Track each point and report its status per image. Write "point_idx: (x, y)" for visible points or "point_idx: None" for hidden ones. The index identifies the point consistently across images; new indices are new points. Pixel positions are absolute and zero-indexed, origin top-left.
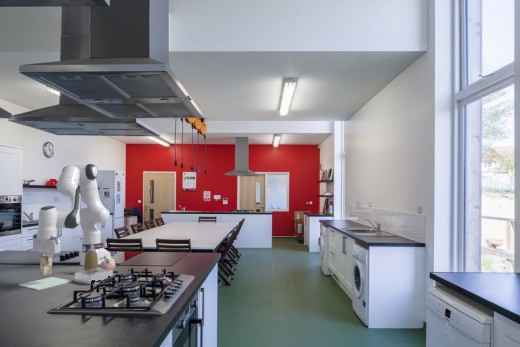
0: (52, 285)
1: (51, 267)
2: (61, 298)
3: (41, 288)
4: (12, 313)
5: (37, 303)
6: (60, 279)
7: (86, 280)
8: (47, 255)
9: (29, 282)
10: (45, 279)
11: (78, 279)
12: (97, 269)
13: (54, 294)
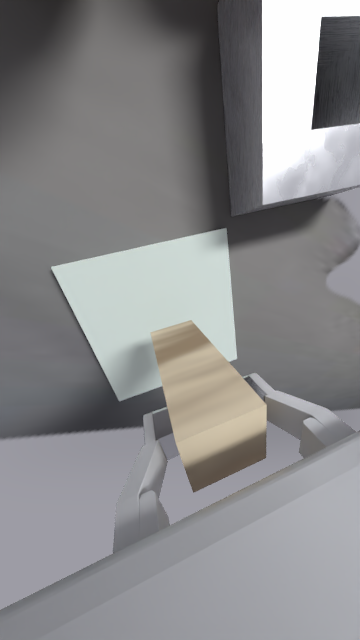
0: (232, 315)
1: (205, 337)
2: (349, 325)
3: (235, 349)
4: (333, 402)
5: (329, 369)
6: (157, 258)
7: (324, 195)
8: (224, 444)
9: (112, 372)
10: (99, 313)
11: (268, 207)
12: None
13: (309, 329)
